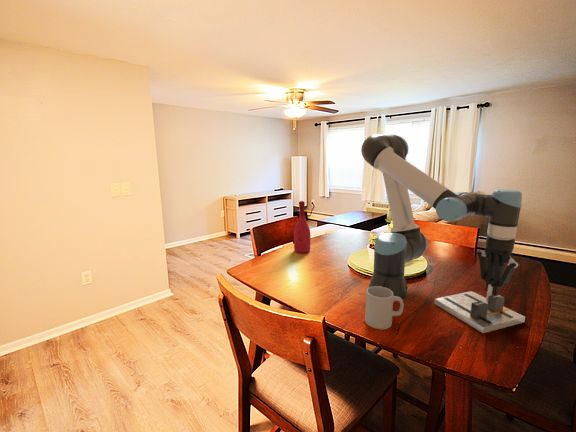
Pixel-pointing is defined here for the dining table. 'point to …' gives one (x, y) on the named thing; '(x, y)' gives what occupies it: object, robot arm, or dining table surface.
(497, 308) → the fader tab
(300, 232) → the wine bottle
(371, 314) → the mug
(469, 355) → the dining table surface
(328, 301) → the dining table surface
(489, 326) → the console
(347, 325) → the dining table surface
